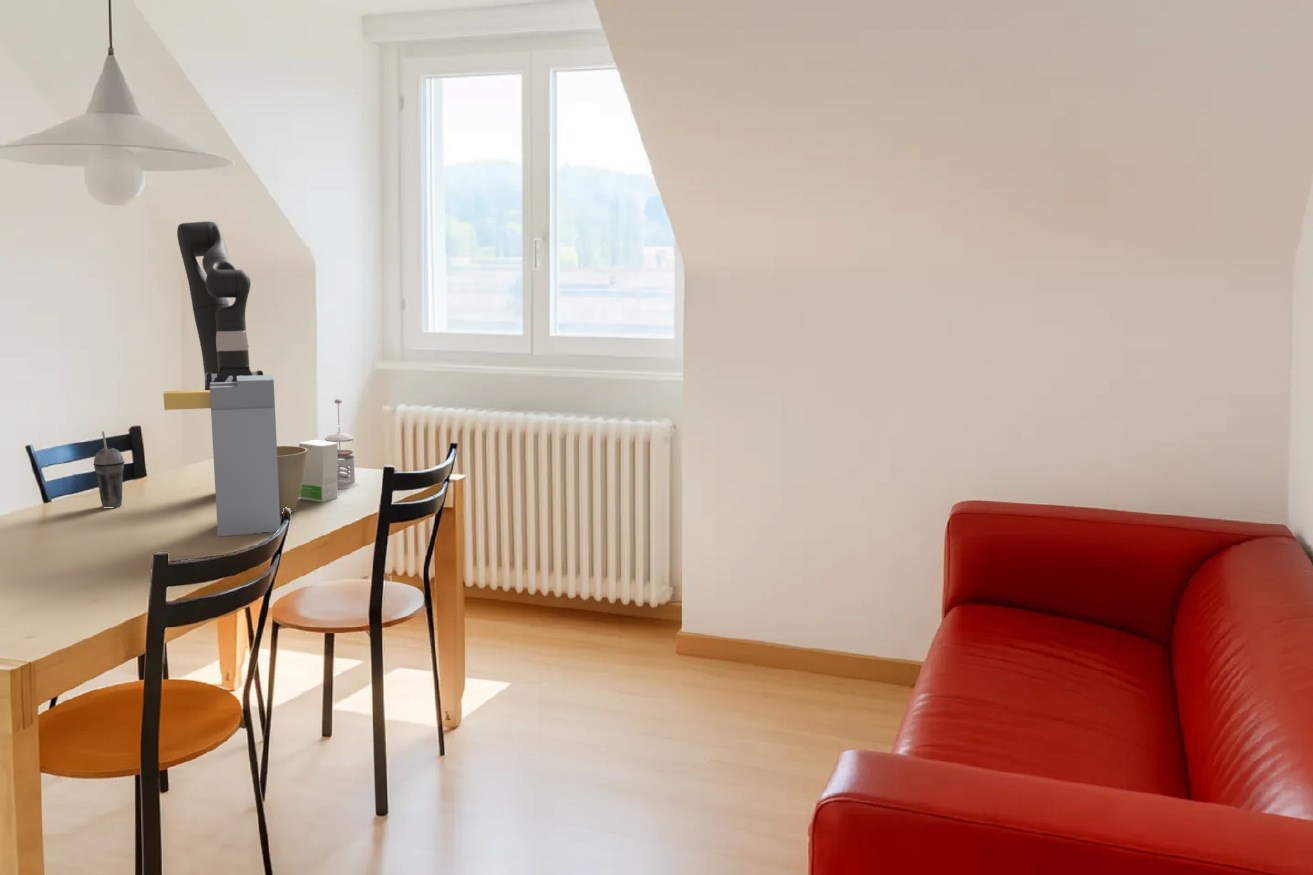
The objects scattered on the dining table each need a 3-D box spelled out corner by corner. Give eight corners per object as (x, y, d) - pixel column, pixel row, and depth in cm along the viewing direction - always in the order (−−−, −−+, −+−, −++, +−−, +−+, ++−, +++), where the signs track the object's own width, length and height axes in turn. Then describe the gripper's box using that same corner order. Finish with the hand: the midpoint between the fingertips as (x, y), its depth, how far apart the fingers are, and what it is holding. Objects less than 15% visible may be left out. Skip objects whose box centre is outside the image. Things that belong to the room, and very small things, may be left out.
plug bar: (164, 409, 254) (163, 393, 254) (165, 407, 258) (164, 391, 257) (274, 405, 263) (273, 390, 262) (273, 403, 267) (272, 388, 266)
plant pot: (292, 502, 295) (290, 443, 292) (319, 512, 284) (317, 451, 282) (238, 510, 285) (235, 450, 282) (264, 521, 274) (261, 458, 271)
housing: (217, 536, 260) (209, 382, 254) (217, 525, 270) (209, 376, 264) (280, 531, 265) (273, 380, 259) (278, 520, 275) (271, 374, 269)
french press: (353, 489, 311) (350, 401, 307) (312, 488, 311) (308, 400, 307) (362, 482, 321) (360, 396, 317) (323, 481, 321) (320, 396, 317)
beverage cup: (134, 504, 289) (128, 429, 286) (112, 511, 282) (106, 434, 279) (112, 502, 291) (106, 427, 288) (89, 508, 285) (84, 432, 281)
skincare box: (298, 499, 298) (296, 442, 295) (315, 494, 304) (312, 439, 301) (324, 502, 295) (322, 445, 292) (340, 497, 301) (338, 441, 298)
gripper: (258, 347, 287) (262, 409, 289) (200, 349, 280) (204, 413, 282) (264, 348, 281) (268, 411, 283) (205, 350, 274) (209, 415, 276)
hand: (236, 412), depth 283 cm, fingers open, 8 cm apart
